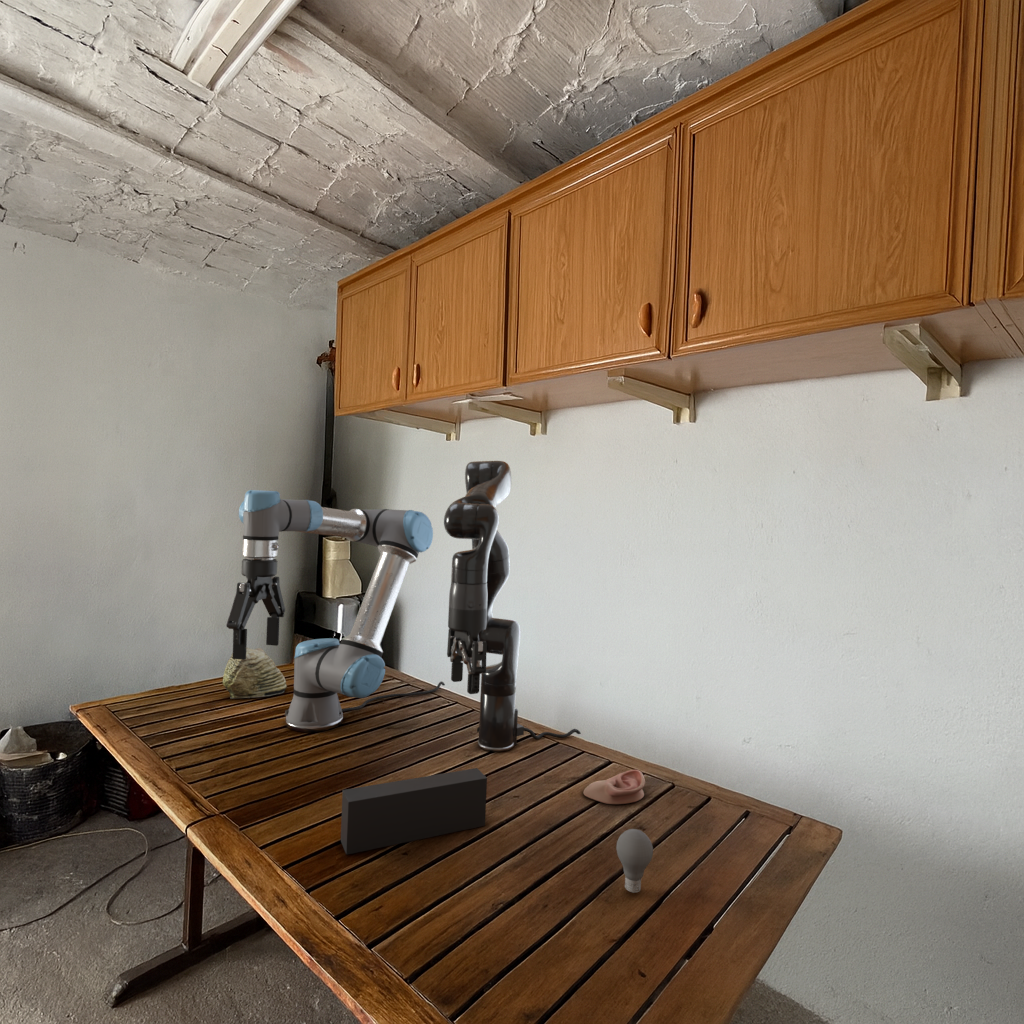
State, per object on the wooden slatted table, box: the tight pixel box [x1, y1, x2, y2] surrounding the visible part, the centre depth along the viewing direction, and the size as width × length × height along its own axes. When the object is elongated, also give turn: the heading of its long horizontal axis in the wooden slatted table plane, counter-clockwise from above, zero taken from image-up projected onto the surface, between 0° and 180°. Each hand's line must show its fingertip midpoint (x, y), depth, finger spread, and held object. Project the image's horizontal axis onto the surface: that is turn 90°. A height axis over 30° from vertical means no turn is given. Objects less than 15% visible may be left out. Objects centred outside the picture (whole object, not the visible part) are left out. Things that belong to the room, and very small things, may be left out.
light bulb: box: [615, 828, 654, 894], centre depth 106 cm, size 6×6×10 cm
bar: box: [340, 767, 488, 856], centre depth 121 cm, size 27×5×10 cm, turn 117°
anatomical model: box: [582, 769, 646, 805], centre depth 141 cm, size 13×4×12 cm
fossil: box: [222, 646, 288, 699], centre depth 198 cm, size 9×18×15 cm, turn 132°
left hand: (256, 651), depth 144 cm, fingers open, 13 cm apart
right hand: (464, 687), depth 124 cm, fingers open, 8 cm apart
